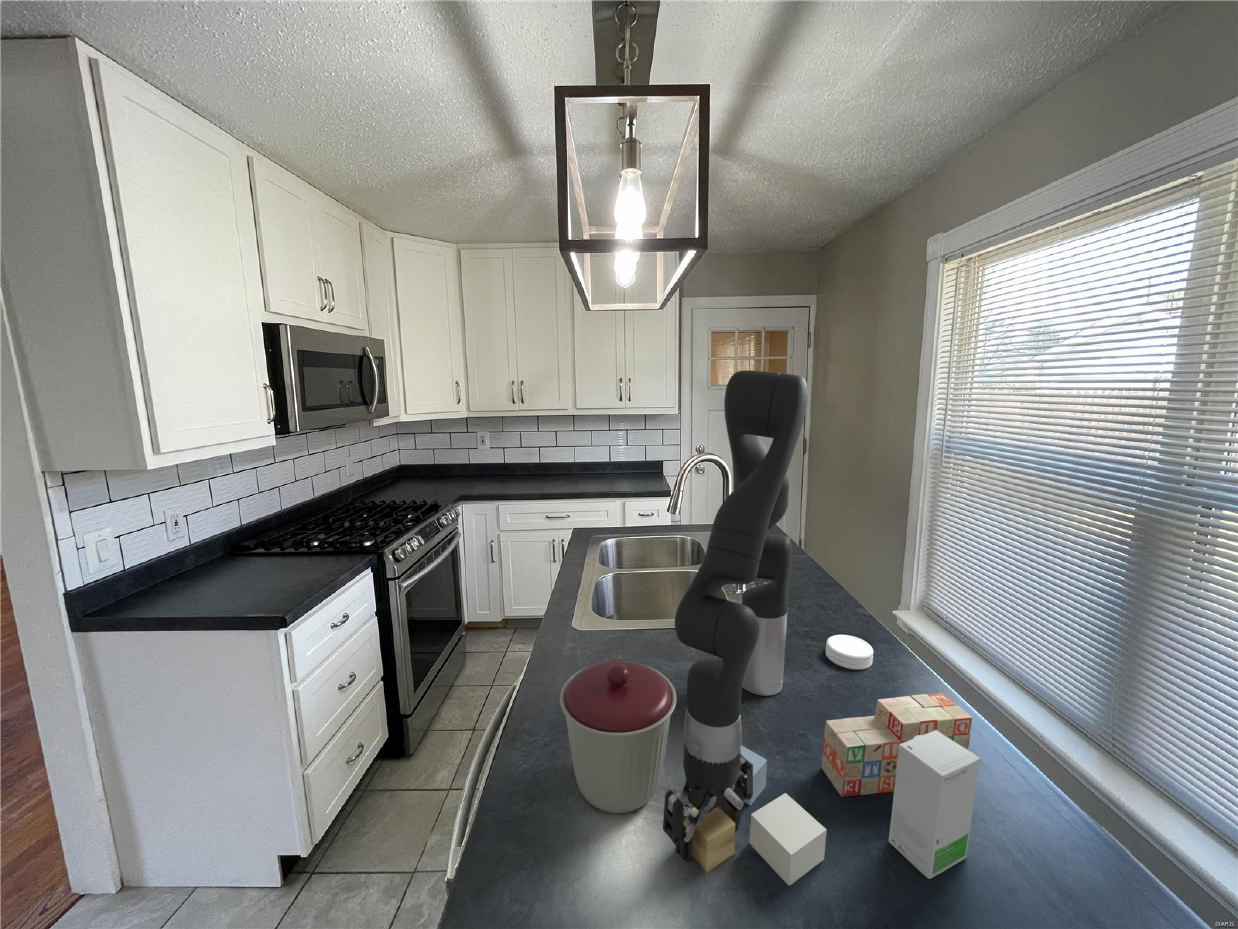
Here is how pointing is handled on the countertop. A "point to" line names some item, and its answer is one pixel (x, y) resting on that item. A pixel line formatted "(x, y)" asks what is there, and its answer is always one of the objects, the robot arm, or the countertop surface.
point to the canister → (618, 732)
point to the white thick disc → (849, 652)
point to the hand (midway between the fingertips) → (708, 841)
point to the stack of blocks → (886, 740)
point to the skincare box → (933, 802)
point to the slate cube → (755, 773)
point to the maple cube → (713, 839)
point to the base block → (787, 838)
